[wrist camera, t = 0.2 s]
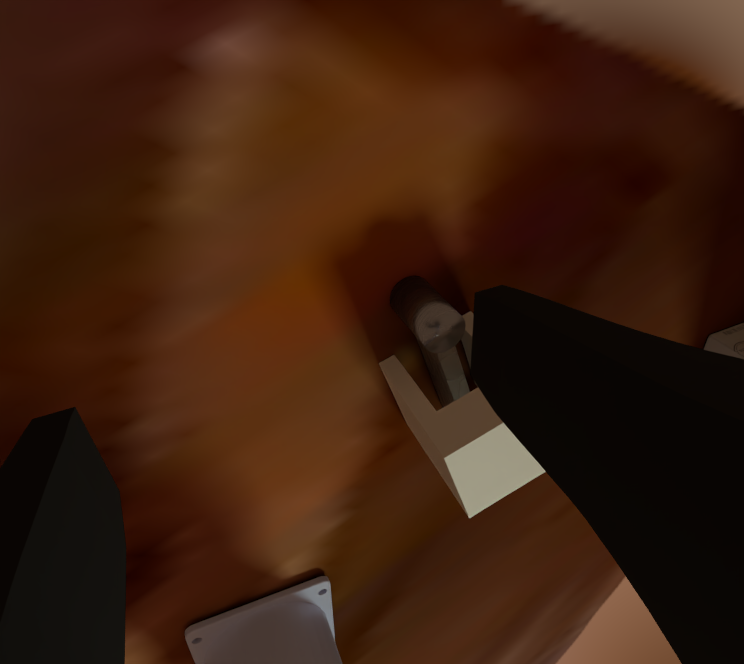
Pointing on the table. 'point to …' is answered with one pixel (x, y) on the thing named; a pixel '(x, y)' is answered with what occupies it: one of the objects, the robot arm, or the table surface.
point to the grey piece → (433, 334)
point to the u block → (464, 438)
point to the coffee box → (727, 341)
